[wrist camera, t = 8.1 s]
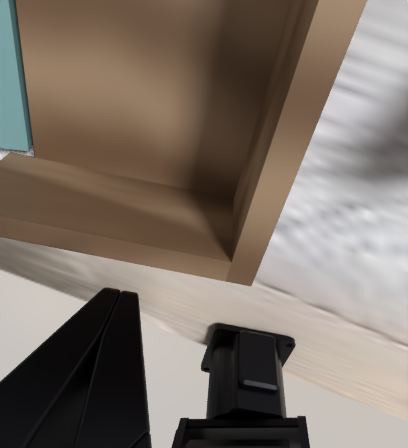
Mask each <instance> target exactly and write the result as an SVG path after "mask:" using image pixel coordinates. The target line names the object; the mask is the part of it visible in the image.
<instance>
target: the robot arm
mask: <svg viewBox="0 0 408 448" xmlns="http://www.w3.org/2000/svg"><path fill="white" fill-rule="evenodd" d="M294 348H295V340H294V339H293V338H291V337H286V336H281V335H276V334H270V333H265V332H260V331H255V330H250V329H244V328H239V327H234V326H229V325H223V324H217V325H215V326H214V329H213V332H212V334H211V337H210V340H209V343H208V346H207V349H206V352H205V355H204V358H203V361H202V364H201V370H202V371H204V372H208V373H210V376H209V389H208V401H207V414H206V419H189V418H181V419H180V422H179V426H178V429H177V430H176V433H175V437H174V441H173V444H172V448H310V445H309V438H308V431H307V424H306V417H305V416H298V418H287V417H286V407H285V397H284V387H283V375H282V367H283V365H284V364H285V362H286V360H287V359H288V357H289V356H290V354H291V352H292V351H293V349H294ZM148 414H149V413H148V402H147V390H146V380H145V367H144V357H143V344H142V332H141V321H140V309H139V298H138V294H137V293H135V292H129V291H122V292H121V291H120V290H118V289H113V288H103V289H102V290H101V291H100V292H99V293H97V294H96V295H95V296H94V297H93V298H92V299H91V300H90V301H89V302H88V303H86V304H85V305H84V306H83V307H82V308H81V309H80V310H79V311H78V312H77V313H76V314H74V315H73V316H72V317H71V318H70V319H69V320H68V321H67V322H65V323H64V324H63V325H62V326H61V327H60V328H59V329H58V330H57V331H56V332H54V333H53V334H52V335H51V336H50V337H49V338H48V339H47V340H46V341H45V342H43V343H42V344H41V345H40V346H39V347H38V348H37V349H36V350H35V351H33V352H32V353H31V354H30V355H29V356H28V357H27V358H26V359H25V360H24V361H23V362H21V363H20V364H19V365H18V366H17V367H16V368H15V369H14V370H13V371H11V372H10V373H9V374H8V375H7V376H6V377H5V378H4V379H3V380H1V381H0V448H152V446H151V435H150V433H149V432H150V425H149V415H148Z"/></svg>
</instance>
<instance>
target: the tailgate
mask: <svg viewBox="0 0 408 448" xmlns="http://www.w3.org/2000/svg"><path fill="white" fill-rule="evenodd" d="M32 145H33V137H32V129H31V121H30V112H29V104H28V96H27V88H26V80H25V72H24V64H23V56H22V48H21V40H20V32H19V24H18V15H17V7H16V0H0V148H3V149H12V150H22V151H29V150H30V148H31V146H32Z"/></svg>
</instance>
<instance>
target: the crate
mask: <svg viewBox="0 0 408 448" xmlns="http://www.w3.org/2000/svg"><path fill="white" fill-rule="evenodd" d="M366 2H367V0H16V7H17V15H18V24H19V32H20V40H21V48H22V56H23V64H24V72H25V80H26V88H27V96H28V104H29V112H30V121H31V129H32V137H33V145H34V153H35V157H30V156H25V155H21V154H16V153H11V152H10V153H9V154H8V155H7V156H6V157H4V158H3V159H2V160H1V161H0V237H3V238H8V239H14V240H19V241H24V242H29V243H34V244H39V245H44V246H49V247H54V248H59V249H64V250H69V251H74V252H79V253H85V254H90V255H95V256H100V257H105V258H110V259H115V260H120V261H125V262H130V263H135V264H140V265H145V266H150V267H156V268H161V269H166V270H171V271H176V272H181V273H186V274H191V275H196V276H201V277H206V278H211V279H216V280H221V281H226V282H232V283H237V284H242V285H247V286H252V283H253V281H254V278H255V276H256V273H257V271H258V268H259V266H260V263H261V261H262V258H263V256H264V254H265V251H266V249H267V246H268V244H269V241H270V239H271V236H272V234H273V231H274V229H275V226H276V224H277V222H278V219H279V217H280V214H281V212H282V209H283V207H284V204H285V202H286V199H287V197H288V194H289V192H290V189H291V187H292V185H293V182H294V180H295V177H296V175H297V172H298V170H299V167H300V165H301V162H302V160H303V157H304V155H305V152H306V150H307V148H308V145H309V143H310V140H311V138H312V135H313V133H314V130H315V128H316V125H317V123H318V120H319V118H320V116H321V113H322V111H323V108H324V106H325V103H326V101H327V98H328V96H329V93H330V91H331V88H332V86H333V83H334V81H335V79H336V76H337V74H338V71H339V69H340V66H341V64H342V61H343V59H344V56H345V54H346V51H347V49H348V47H349V44H350V42H351V39H352V37H353V34H354V32H355V29H356V27H357V24H358V22H359V19H360V17H361V14H362V12H363V10H364V7H365V5H366Z"/></svg>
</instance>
